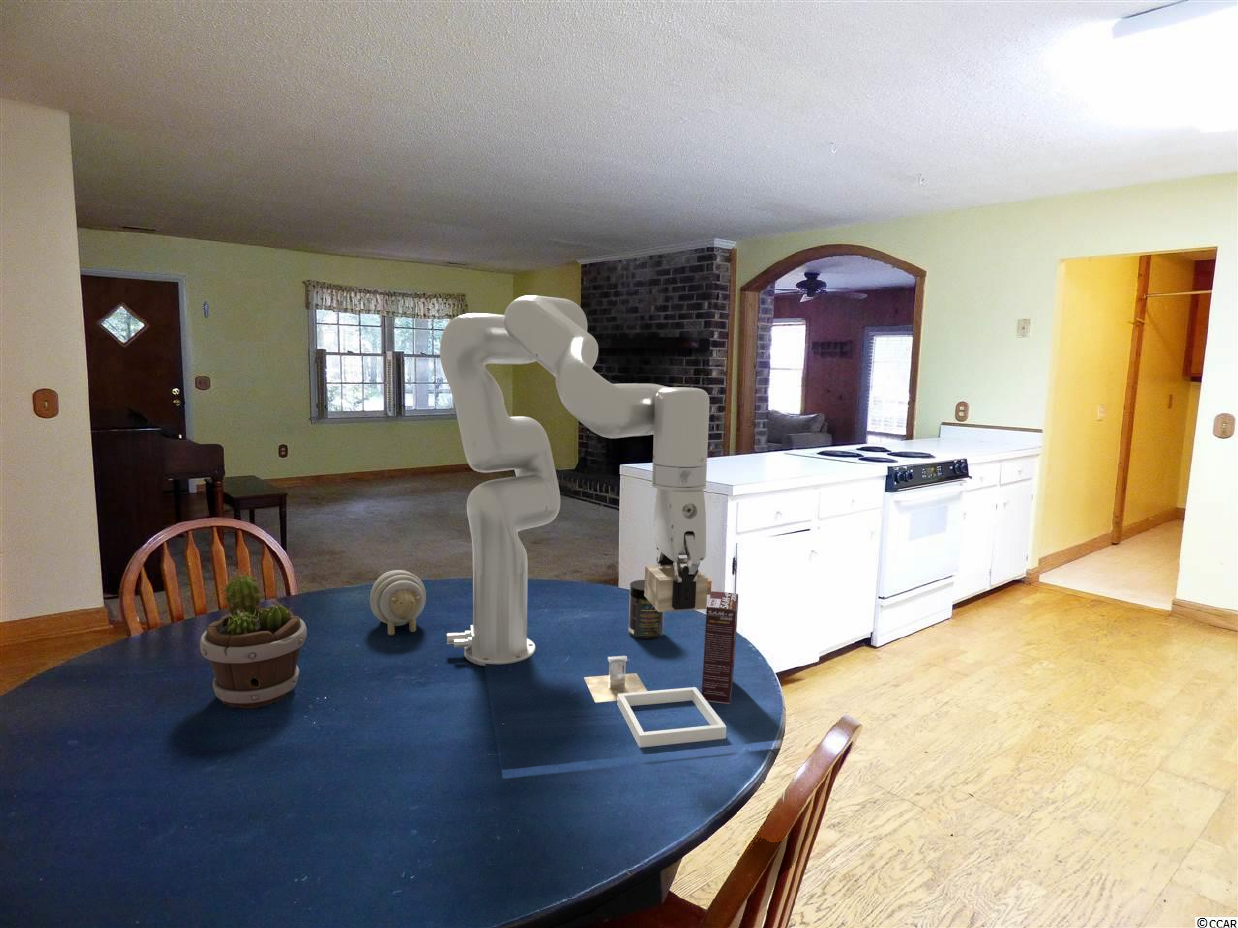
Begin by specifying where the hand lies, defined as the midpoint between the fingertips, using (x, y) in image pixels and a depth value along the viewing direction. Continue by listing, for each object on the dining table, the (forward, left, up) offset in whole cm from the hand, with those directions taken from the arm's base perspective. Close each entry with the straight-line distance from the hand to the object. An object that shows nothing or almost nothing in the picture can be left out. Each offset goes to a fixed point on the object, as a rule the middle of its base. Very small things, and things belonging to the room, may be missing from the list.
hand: (674, 598), depth 105 cm
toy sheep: (-40, +48, -20) cm, 65 cm away
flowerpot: (-60, +22, -20) cm, 67 cm away
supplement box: (+11, +8, -20) cm, 24 cm away
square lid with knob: (-5, +12, -19) cm, 23 cm away
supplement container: (+6, +34, -20) cm, 39 cm away
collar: (0, 0, -1) cm, 1 cm away
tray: (0, 0, -19) cm, 19 cm away
